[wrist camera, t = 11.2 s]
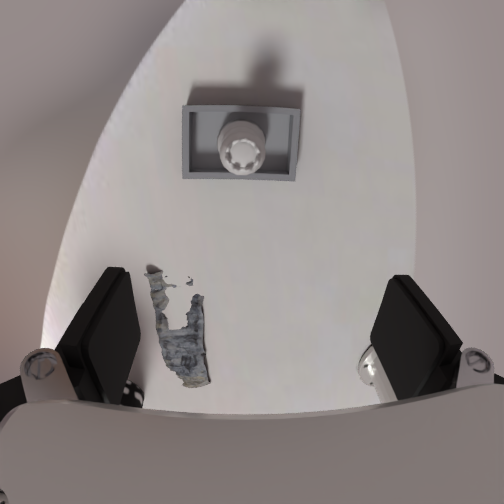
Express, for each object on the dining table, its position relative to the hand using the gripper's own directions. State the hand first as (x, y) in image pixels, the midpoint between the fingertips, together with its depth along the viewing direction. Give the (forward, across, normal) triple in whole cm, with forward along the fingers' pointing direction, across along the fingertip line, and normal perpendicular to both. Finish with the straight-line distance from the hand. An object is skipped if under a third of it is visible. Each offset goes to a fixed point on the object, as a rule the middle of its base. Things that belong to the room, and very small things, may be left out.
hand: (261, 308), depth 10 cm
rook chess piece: (+20, +1, -3) cm, 21 cm away
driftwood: (+22, +7, +21) cm, 31 cm away
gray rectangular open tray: (+20, +1, -4) cm, 21 cm away
